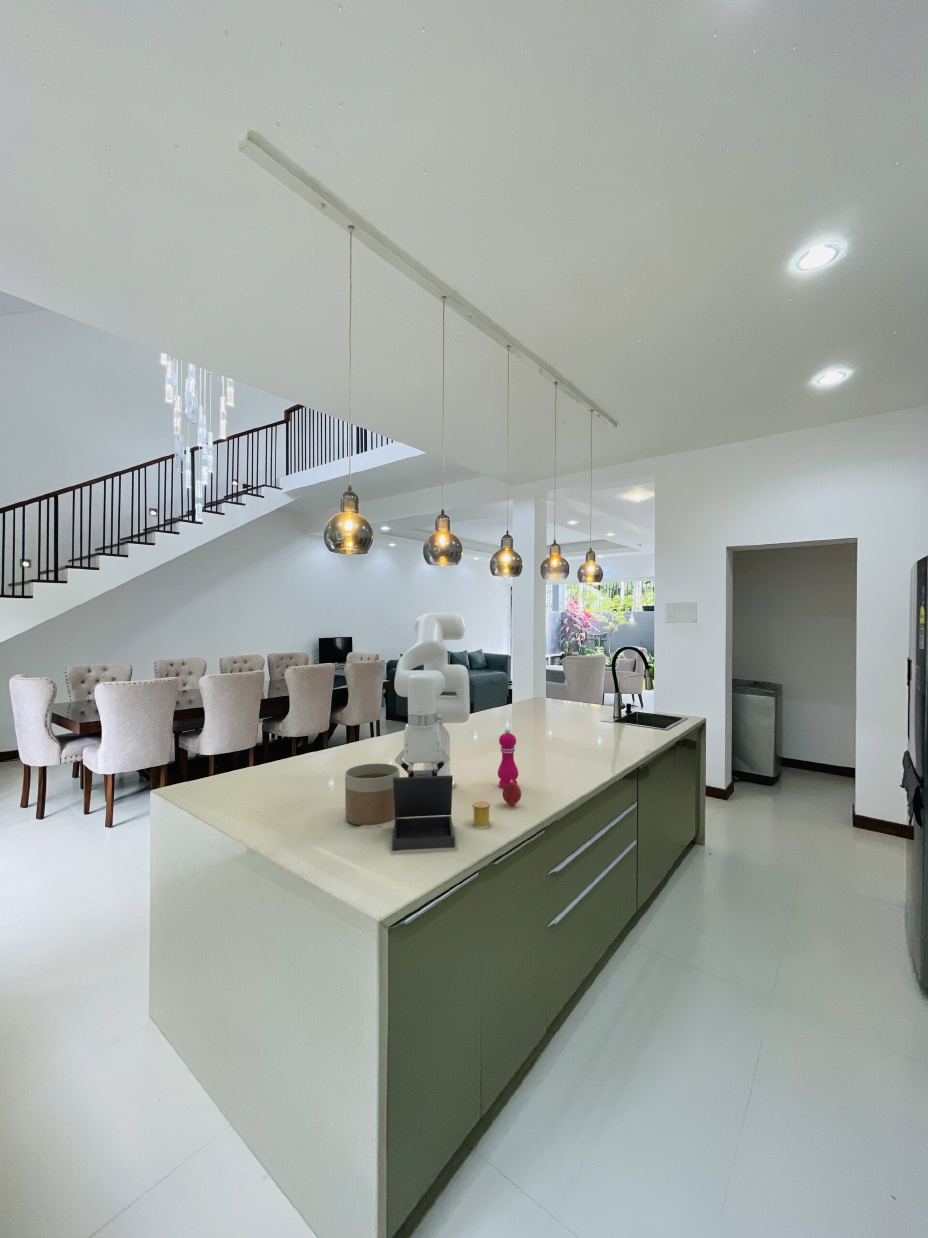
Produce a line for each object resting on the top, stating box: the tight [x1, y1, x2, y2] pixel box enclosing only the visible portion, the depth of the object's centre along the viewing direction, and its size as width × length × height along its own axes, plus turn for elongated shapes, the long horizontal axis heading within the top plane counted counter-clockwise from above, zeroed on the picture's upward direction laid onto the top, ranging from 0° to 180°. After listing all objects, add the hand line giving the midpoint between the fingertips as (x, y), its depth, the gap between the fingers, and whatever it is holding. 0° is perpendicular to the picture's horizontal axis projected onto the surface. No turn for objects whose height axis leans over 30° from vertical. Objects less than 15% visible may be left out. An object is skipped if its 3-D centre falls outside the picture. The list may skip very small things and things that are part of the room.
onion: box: [501, 780, 522, 807], centre depth 160 cm, size 6×6×8 cm
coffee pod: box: [471, 801, 491, 827], centre depth 145 cm, size 5×5×6 cm
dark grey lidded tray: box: [391, 815, 456, 851], centre depth 136 cm, size 15×16×3 cm
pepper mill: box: [497, 728, 519, 789], centre depth 179 cm, size 7×7×20 cm
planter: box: [344, 762, 400, 826], centre depth 152 cm, size 16×16×14 cm
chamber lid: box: [393, 769, 454, 818], centre depth 141 cm, size 16×16×5 cm
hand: (423, 786), depth 139 cm, fingers closed on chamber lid, 5 cm apart
